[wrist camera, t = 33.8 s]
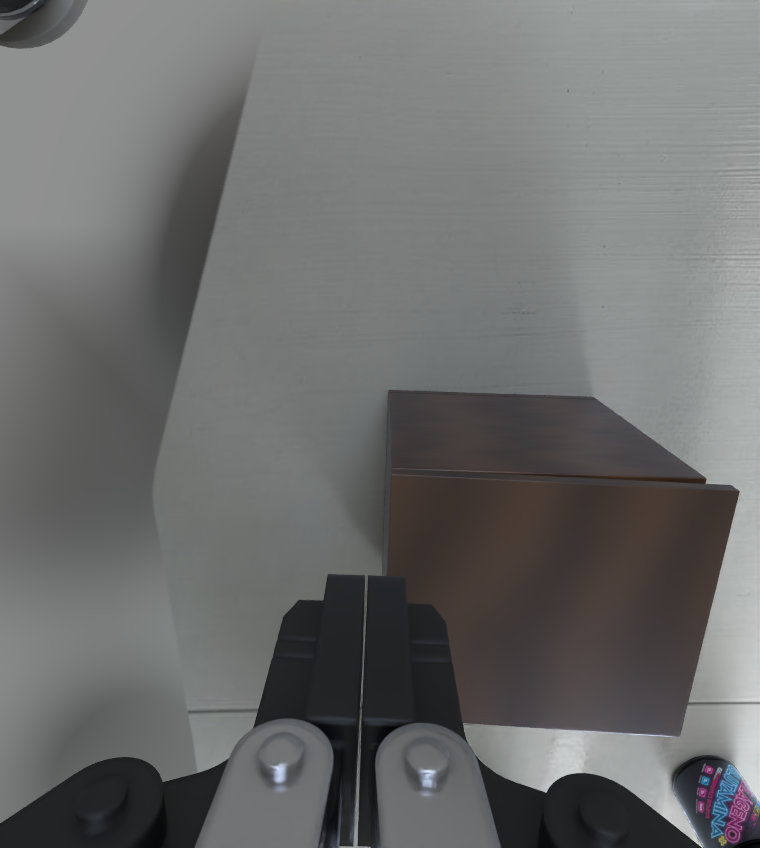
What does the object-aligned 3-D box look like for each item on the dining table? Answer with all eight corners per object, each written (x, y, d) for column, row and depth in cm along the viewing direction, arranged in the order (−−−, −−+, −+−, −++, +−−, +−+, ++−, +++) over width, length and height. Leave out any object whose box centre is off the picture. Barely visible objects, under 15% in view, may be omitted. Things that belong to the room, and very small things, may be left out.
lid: (731, 484, 29) (740, 491, 28) (673, 726, 34) (679, 737, 33) (391, 468, 30) (391, 474, 29) (381, 707, 34) (380, 718, 34)
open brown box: (594, 396, 46) (707, 478, 30) (568, 566, 50) (654, 715, 34) (388, 389, 46) (391, 467, 30) (382, 560, 50) (381, 707, 34)
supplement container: (750, 765, 57) (827, 874, 47) (711, 810, 59) (777, 924, 49) (693, 742, 56) (760, 848, 46) (656, 789, 58) (712, 901, 48)
